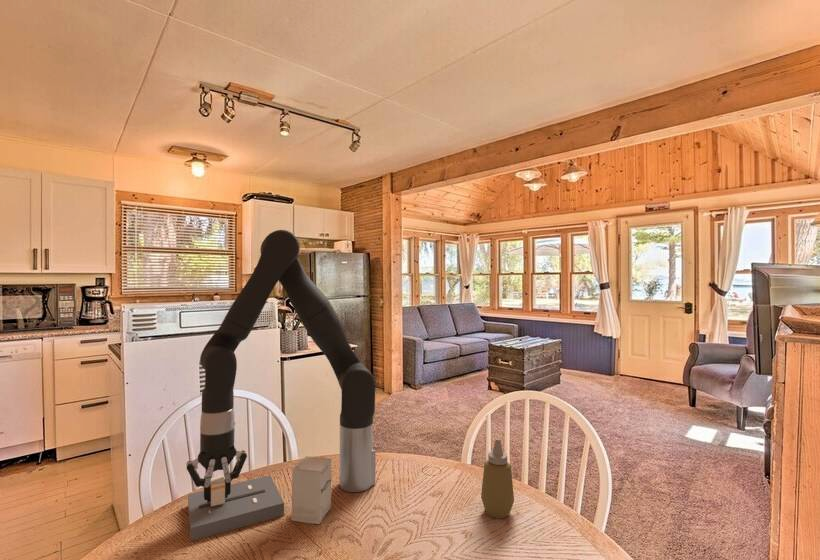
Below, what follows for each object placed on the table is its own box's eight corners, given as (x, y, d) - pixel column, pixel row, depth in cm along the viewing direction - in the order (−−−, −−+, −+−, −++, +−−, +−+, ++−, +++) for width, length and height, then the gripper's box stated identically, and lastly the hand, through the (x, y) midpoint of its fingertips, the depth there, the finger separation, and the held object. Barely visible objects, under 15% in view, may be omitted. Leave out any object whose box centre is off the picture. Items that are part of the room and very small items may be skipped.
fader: (223, 495, 101) (223, 475, 101) (225, 503, 98) (225, 482, 98) (209, 498, 100) (209, 478, 100) (210, 506, 96) (210, 485, 96)
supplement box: (319, 525, 95) (320, 471, 95) (290, 521, 97) (291, 468, 96) (332, 507, 102) (332, 457, 102) (304, 504, 104) (305, 454, 104)
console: (270, 485, 113) (270, 474, 113) (284, 515, 99) (284, 501, 99) (188, 506, 103) (188, 493, 103) (190, 541, 89) (190, 527, 89)
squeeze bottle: (520, 511, 101) (520, 439, 101) (503, 526, 95) (504, 449, 95) (491, 499, 106) (492, 431, 106) (474, 512, 101) (474, 439, 101)
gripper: (246, 418, 105) (245, 484, 105) (184, 427, 98) (183, 499, 98) (251, 427, 99) (250, 498, 99) (185, 438, 92) (184, 514, 92)
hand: (217, 498), depth 99 cm, fingers closed on fader, 3 cm apart
